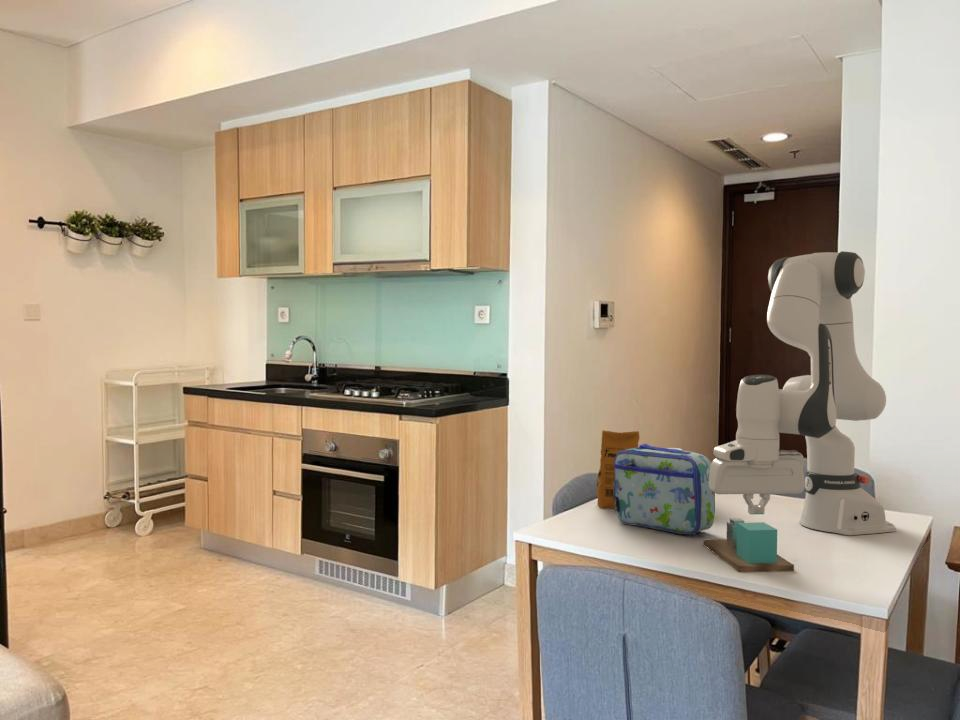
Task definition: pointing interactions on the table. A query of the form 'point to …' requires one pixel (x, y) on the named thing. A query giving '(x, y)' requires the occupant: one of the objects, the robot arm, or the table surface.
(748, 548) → the matte teal cube
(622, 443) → the coffee package
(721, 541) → the walnut board
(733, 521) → the steel post
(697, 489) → the lunch box
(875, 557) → the table surface
